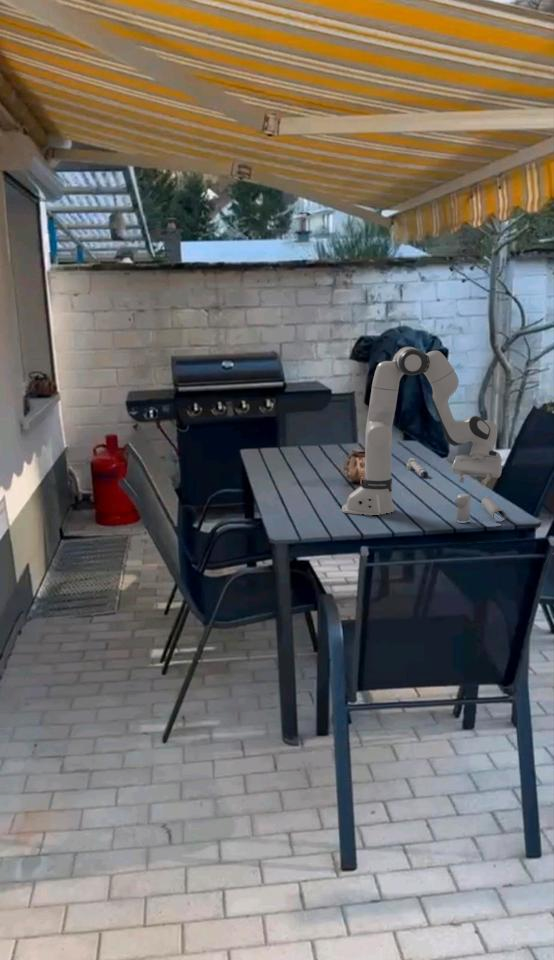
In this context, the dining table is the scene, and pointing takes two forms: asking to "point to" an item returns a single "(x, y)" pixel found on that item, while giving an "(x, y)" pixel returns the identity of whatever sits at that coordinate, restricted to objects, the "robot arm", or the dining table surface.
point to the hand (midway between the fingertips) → (472, 483)
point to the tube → (492, 507)
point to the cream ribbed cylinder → (416, 468)
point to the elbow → (463, 507)
